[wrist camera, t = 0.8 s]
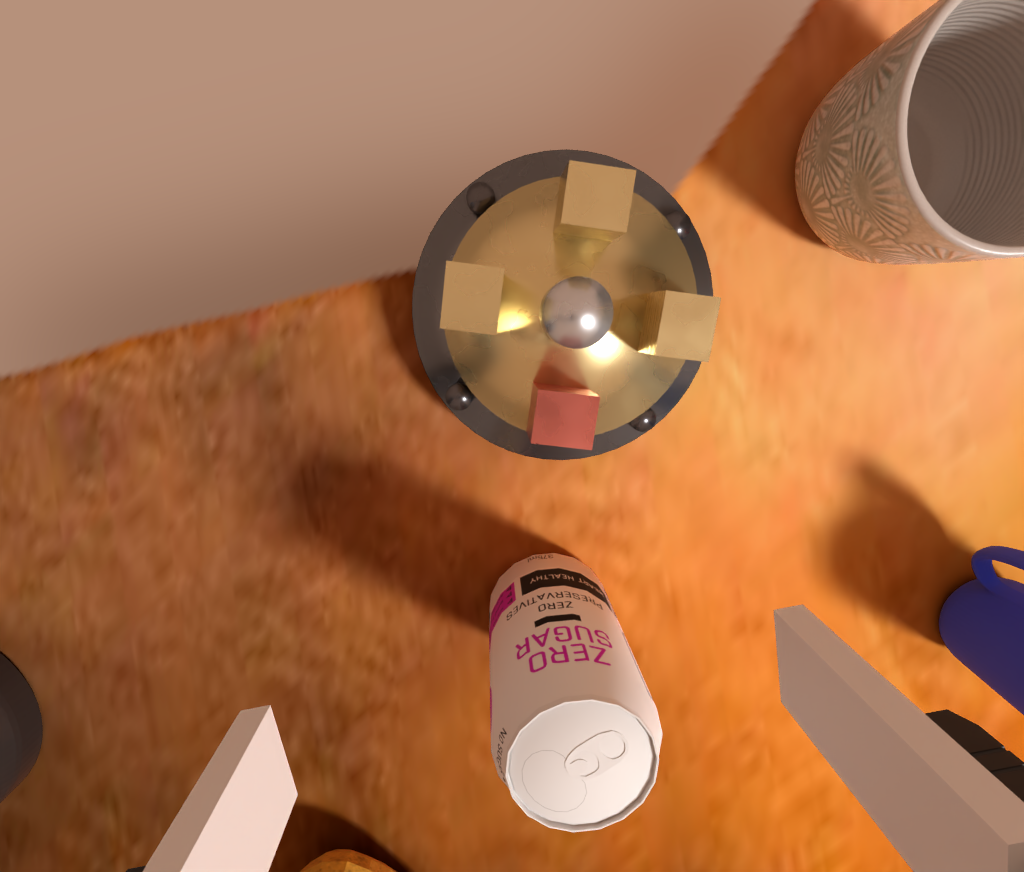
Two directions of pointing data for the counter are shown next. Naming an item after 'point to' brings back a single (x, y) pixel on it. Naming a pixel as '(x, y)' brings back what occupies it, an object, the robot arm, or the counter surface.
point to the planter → (924, 143)
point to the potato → (346, 863)
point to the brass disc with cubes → (550, 259)
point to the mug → (989, 624)
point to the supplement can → (567, 698)
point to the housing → (563, 310)
